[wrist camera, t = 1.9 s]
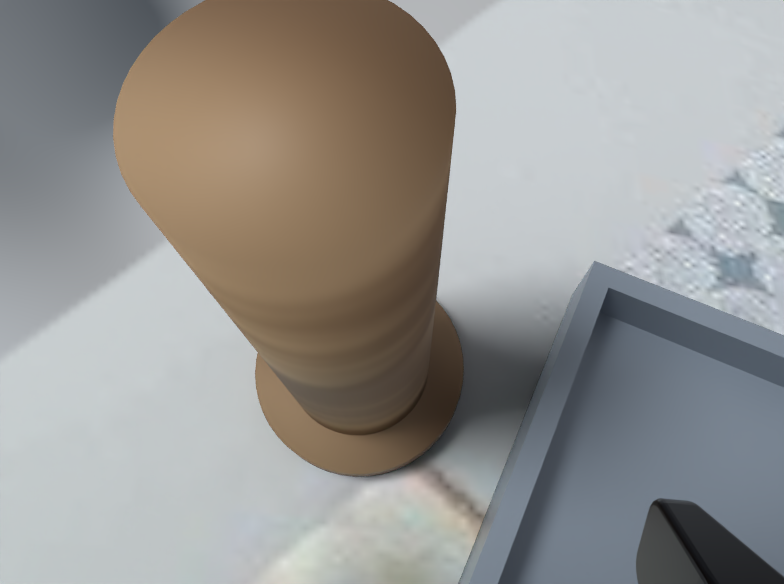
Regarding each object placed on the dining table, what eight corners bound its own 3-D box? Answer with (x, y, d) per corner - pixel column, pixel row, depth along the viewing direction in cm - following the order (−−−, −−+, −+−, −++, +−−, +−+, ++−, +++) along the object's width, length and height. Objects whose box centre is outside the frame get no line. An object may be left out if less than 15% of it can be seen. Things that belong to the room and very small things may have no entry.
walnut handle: (410, 513, 17) (411, 455, 6) (226, 422, 18) (-86, 217, 7) (491, 327, 19) (613, 5, 8) (320, 254, 20) (202, -124, 9)
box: (847, 836, 14) (930, 892, 12) (442, 623, 16) (448, 636, 14) (915, 433, 18) (990, 417, 15) (572, 294, 20) (594, 261, 17)
